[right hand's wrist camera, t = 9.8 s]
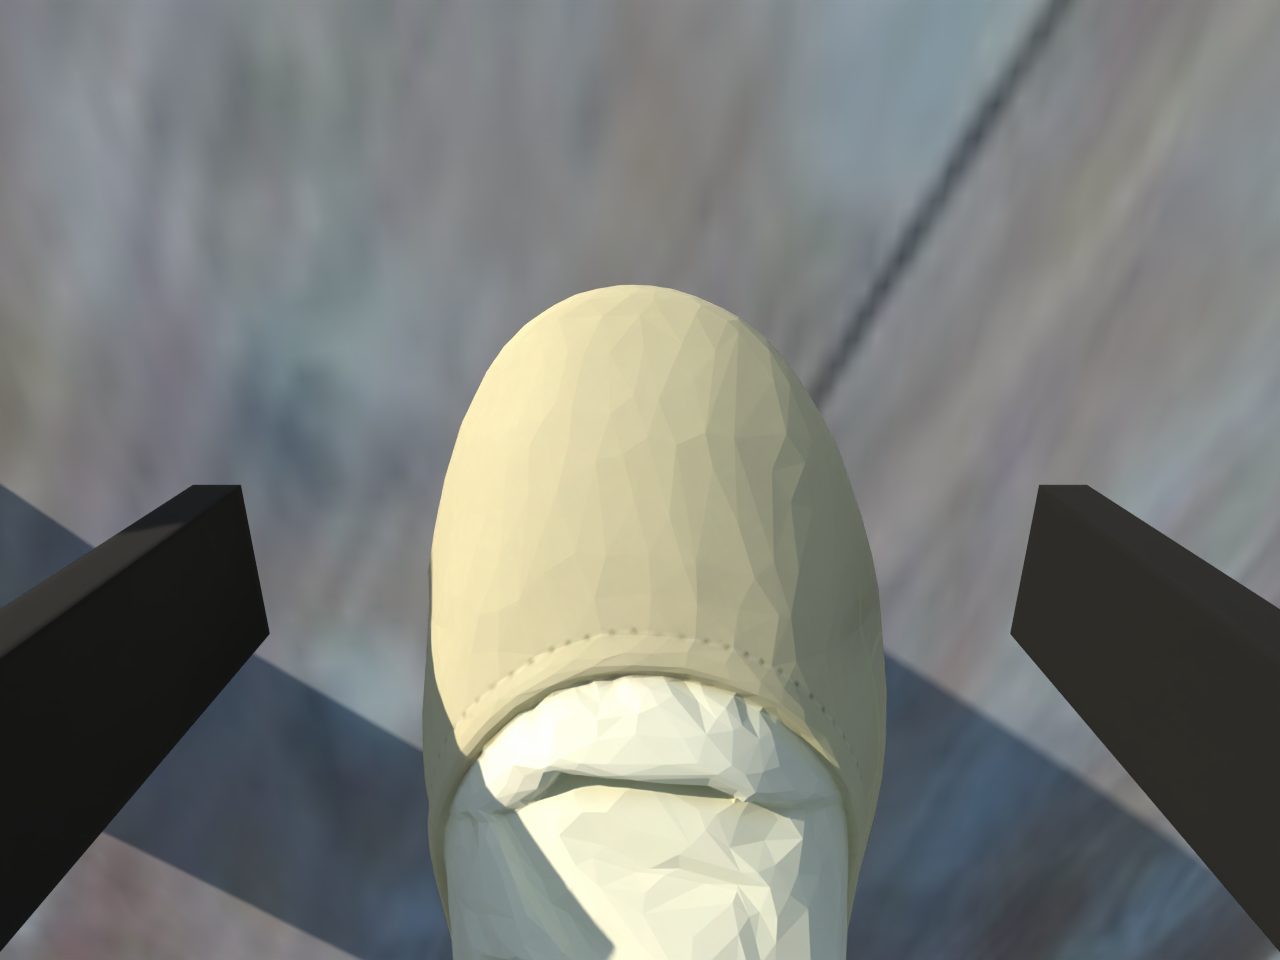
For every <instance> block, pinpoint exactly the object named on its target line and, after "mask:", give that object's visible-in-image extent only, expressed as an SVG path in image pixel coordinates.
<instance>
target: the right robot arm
mask: <svg viewBox="0 0 1280 960" xmlns="http://www.w3.org/2000/svg"><path fill="white" fill-rule="evenodd" d="M269 634H270V633H269V628H268V622H267V617H266V612H265V607H264V602H263V597H262V592H261V586H260V581H259V576H258V571H257V566H256V561H255V556H254V550H253V545H252V540H251V535H250V530H249V525H248V520H247V514H246V509H245V504H244V499H243V494H242V489H241V485H192V486H191V487H189V488H188V489H186V490H184V491H183V492H181V493H180V494H178V495H177V496H175V497H174V498H172V499H171V500H169V501H167V502H166V503H164V504H163V505H161V506H160V507H158V508H157V509H155V510H153V511H152V512H150V513H149V514H147V515H146V516H144V517H143V518H141V519H139V520H138V521H136V522H135V523H133V524H132V525H130V526H129V527H127V528H126V529H124V530H122V531H121V532H119V533H118V534H116V535H115V536H113V537H112V538H110V539H108V540H107V541H105V542H104V543H102V544H101V545H99V546H98V547H96V548H95V549H93V550H91V551H90V552H88V553H87V554H85V555H84V556H82V557H81V558H79V559H77V560H76V561H74V562H73V563H71V564H70V565H68V566H67V567H65V568H63V569H62V570H60V571H59V572H57V573H56V574H54V575H53V576H51V577H50V578H48V579H46V580H45V581H43V582H42V583H40V584H39V585H37V586H36V587H34V588H32V589H31V590H29V591H28V592H26V593H25V594H23V595H22V596H20V597H18V598H17V599H15V600H14V601H12V602H11V603H9V604H8V605H6V606H5V607H3V608H1V609H0V951H1V950H2V949H3V948H4V947H5V946H6V944H7V943H8V942H9V941H10V940H11V938H12V937H13V936H14V935H15V934H16V933H17V931H18V930H19V929H20V928H21V927H22V925H23V924H24V923H25V922H26V921H27V920H28V918H29V917H30V916H31V915H32V914H33V913H34V911H35V910H36V909H37V908H38V907H39V905H40V904H41V903H42V902H43V901H44V900H45V898H46V897H47V896H48V895H49V894H50V892H51V891H52V890H53V889H54V888H55V887H56V885H57V884H58V883H59V882H60V881H61V879H62V878H63V877H64V876H65V875H66V874H67V872H68V871H69V870H70V869H71V868H72V866H73V865H74V864H75V863H76V862H77V861H78V859H79V858H80V857H81V856H82V855H83V854H84V852H85V851H86V850H87V849H88V848H89V846H90V845H91V844H92V843H93V842H94V841H95V839H96V838H97V837H98V836H99V835H100V833H101V832H102V831H103V830H104V829H105V828H106V826H107V825H108V824H109V823H110V822H111V820H112V819H113V818H114V817H115V816H116V815H117V813H118V812H119V811H120V810H121V809H122V807H123V806H124V805H125V804H126V803H127V802H128V800H129V799H130V798H131V797H132V796H133V795H134V793H135V792H136V791H137V790H138V789H139V787H140V786H141V785H142V784H143V783H144V782H145V780H146V779H147V778H148V777H149V776H150V774H151V773H152V772H153V771H154V770H155V769H156V767H157V766H158V765H159V764H160V763H161V761H162V760H163V759H164V758H165V757H166V756H167V754H168V753H169V752H170V751H171V750H172V748H173V747H174V746H175V745H176V744H177V743H178V741H179V740H180V739H181V738H182V737H183V736H184V734H185V733H186V732H187V731H188V730H189V728H190V727H191V726H192V725H193V724H194V723H195V721H196V720H197V719H198V718H199V717H200V715H201V714H202V713H203V712H204V711H205V710H206V708H207V707H208V706H209V705H210V704H211V702H212V701H213V700H214V699H215V698H216V697H217V695H218V694H219V693H220V692H221V691H222V690H223V688H224V687H225V686H226V685H227V684H228V682H229V681H230V680H231V679H232V678H233V677H234V675H235V674H236V673H237V672H238V671H239V669H240V668H241V667H242V666H243V665H244V664H245V662H246V661H247V660H248V659H249V658H250V656H251V655H252V654H253V653H254V652H255V651H256V649H257V648H258V647H259V646H260V645H261V643H262V642H263V641H264V640H265V639H266V638H267V636H268V635H269ZM1010 634H1011V635H1012V636H1013V638H1014V639H1015V640H1016V641H1017V642H1018V643H1019V645H1020V646H1021V647H1022V648H1023V649H1024V651H1025V652H1026V653H1027V654H1028V655H1029V656H1030V658H1031V659H1032V660H1033V661H1034V662H1035V664H1036V665H1037V666H1038V667H1039V668H1040V669H1041V671H1042V672H1043V673H1044V674H1045V675H1046V677H1047V678H1048V679H1049V680H1050V681H1051V682H1052V684H1053V685H1054V686H1055V687H1056V688H1057V689H1058V691H1059V692H1060V693H1061V694H1062V695H1063V697H1064V698H1065V699H1066V700H1067V701H1068V702H1069V704H1070V705H1071V706H1072V707H1073V708H1074V710H1075V711H1076V712H1077V713H1078V714H1079V715H1080V717H1081V718H1082V719H1083V720H1084V721H1085V723H1086V724H1087V725H1088V726H1089V727H1090V728H1091V730H1092V731H1093V732H1094V733H1095V734H1096V735H1097V737H1098V738H1099V739H1100V740H1101V741H1102V743H1103V744H1104V745H1105V746H1106V747H1107V748H1108V750H1109V751H1110V752H1111V753H1112V754H1113V756H1114V757H1115V758H1116V759H1117V760H1118V761H1119V763H1120V764H1121V765H1122V766H1123V767H1124V769H1125V770H1126V771H1127V772H1128V773H1129V774H1130V776H1131V777H1132V778H1133V779H1134V780H1135V782H1136V783H1137V784H1138V785H1139V786H1140V787H1141V789H1142V790H1143V791H1144V792H1145V793H1146V794H1147V796H1148V797H1149V798H1150V799H1151V800H1152V802H1153V803H1154V804H1155V805H1156V806H1157V807H1158V809H1159V810H1160V811H1161V812H1162V813H1163V815H1164V816H1165V817H1166V818H1167V819H1168V820H1169V822H1170V823H1171V824H1172V825H1173V826H1174V828H1175V829H1176V830H1177V831H1178V832H1179V833H1180V835H1181V836H1182V837H1183V838H1184V839H1185V841H1186V842H1187V843H1188V844H1189V845H1190V846H1191V848H1192V849H1193V850H1194V851H1195V852H1196V853H1197V855H1198V856H1199V857H1200V858H1201V859H1202V861H1203V862H1204V863H1205V864H1206V865H1207V866H1208V868H1209V869H1210V870H1211V871H1212V872H1213V874H1214V875H1215V876H1216V877H1217V878H1218V879H1219V881H1220V882H1221V883H1222V884H1223V885H1224V887H1225V888H1226V889H1227V890H1228V891H1229V892H1230V894H1231V895H1232V896H1233V897H1234V898H1235V899H1236V901H1237V902H1238V903H1239V904H1240V905H1241V907H1242V908H1243V909H1244V910H1245V911H1246V912H1247V914H1248V915H1249V916H1250V917H1251V918H1252V920H1253V921H1254V922H1255V923H1256V924H1257V925H1258V927H1259V928H1260V929H1261V930H1262V931H1263V933H1264V934H1265V935H1266V936H1267V937H1268V938H1269V940H1270V941H1271V942H1272V943H1273V944H1274V946H1275V947H1276V948H1277V949H1278V950H1279V951H1280V609H1279V608H1277V607H1275V606H1274V605H1272V604H1271V603H1269V602H1268V601H1266V600H1265V599H1263V598H1262V597H1260V596H1258V595H1257V594H1255V593H1254V592H1252V591H1251V590H1249V589H1248V588H1246V587H1244V586H1243V585H1241V584H1240V583H1238V582H1237V581H1235V580H1234V579H1232V578H1231V577H1229V576H1227V575H1226V574H1224V573H1223V572H1221V571H1220V570H1218V569H1217V568H1215V567H1213V566H1212V565H1210V564H1209V563H1207V562H1206V561H1204V560H1203V559H1201V558H1199V557H1198V556H1196V555H1195V554H1193V553H1192V552H1190V551H1189V550H1187V549H1186V548H1184V547H1182V546H1181V545H1179V544H1178V543H1176V542H1175V541H1173V540H1172V539H1170V538H1168V537H1167V536H1165V535H1164V534H1162V533H1161V532H1159V531H1158V530H1156V529H1154V528H1153V527H1151V526H1150V525H1148V524H1147V523H1145V522H1144V521H1142V520H1141V519H1139V518H1137V517H1136V516H1134V515H1133V514H1131V513H1130V512H1128V511H1127V510H1125V509H1123V508H1122V507H1120V506H1119V505H1117V504H1116V503H1114V502H1113V501H1111V500H1109V499H1108V498H1106V497H1105V496H1103V495H1102V494H1100V493H1099V492H1097V491H1096V490H1094V489H1092V488H1091V487H1089V486H1088V485H1039V489H1038V494H1037V499H1036V504H1035V509H1034V514H1033V520H1032V525H1031V530H1030V535H1029V540H1028V545H1027V550H1026V556H1025V561H1024V566H1023V571H1022V576H1021V581H1020V587H1019V592H1018V597H1017V602H1016V607H1015V612H1014V617H1013V623H1012V628H1011V633H1010Z"/></svg>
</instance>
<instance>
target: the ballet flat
mask: <svg viewBox="0 0 1280 960" xmlns="http://www.w3.org/2000/svg"><path fill="white" fill-rule="evenodd" d="M429 600H430V603H429V622H428V640H427V655H426V669H425V684H424V698H423V762H424V774H425V785H426V790H427V795H428V801H429V814H428V823H427V825H428V839H429V850H430V856H431V861H432V866H433V871H434V876H435V881H436V884H437V888H438V892H439V896H440V899H441V903H442V907H443V910H444V914H445V918H446V922H447V925H448V929H449V933H450V938H451V942H452V952H453V960H846V948H847V932H848V927H849V922H850V917H851V912H852V907H853V902H854V898H855V893H856V888H857V883H858V878H859V872H860V868H861V865H862V861H863V858H864V854H865V850H866V847H867V843H868V839H869V835H870V832H871V828H872V824H873V820H874V817H875V812H876V807H877V802H878V797H879V792H880V787H881V782H882V776H883V766H884V757H885V747H886V705H887V688H886V674H885V660H884V648H883V637H882V626H881V614H880V601H879V589H878V584H877V579H876V574H875V569H874V564H873V559H872V554H871V550H870V546H869V543H868V539H867V535H866V531H865V528H864V524H863V520H862V517H861V514H860V511H859V508H858V505H857V502H856V499H855V496H854V493H853V490H852V487H851V484H850V481H849V478H848V475H847V472H846V469H845V466H844V463H843V460H842V457H841V454H840V452H839V450H838V447H837V445H836V443H835V441H834V439H833V436H832V434H831V433H830V431H829V429H828V427H827V425H826V423H825V421H824V419H823V417H822V416H821V414H820V412H819V411H818V409H817V407H816V406H815V404H814V402H813V401H812V399H811V397H810V396H809V394H808V392H807V391H806V389H805V387H804V386H803V384H802V383H801V381H800V380H799V378H798V377H797V375H796V374H795V373H794V371H793V370H792V368H791V367H790V365H789V364H788V362H787V361H786V360H785V359H784V357H783V356H782V355H781V354H780V353H779V352H778V350H777V349H776V348H775V347H774V346H773V345H772V344H771V342H770V341H769V340H767V339H766V338H765V337H764V336H763V335H761V334H760V333H759V332H758V331H756V330H755V329H754V328H753V327H752V326H750V325H749V324H748V323H746V322H745V321H743V320H742V319H741V318H739V317H737V316H736V315H734V314H732V313H730V312H729V311H727V310H725V309H723V308H721V307H718V306H716V305H714V304H712V303H709V302H707V301H705V300H703V299H700V298H698V297H696V296H693V295H690V294H686V293H683V292H680V291H677V290H674V289H669V288H662V287H656V286H646V285H619V286H612V287H606V288H600V289H595V290H591V291H588V292H584V293H580V294H576V295H574V296H572V297H570V298H568V299H566V300H564V301H562V302H560V303H557V304H555V305H554V306H552V307H551V308H549V309H548V310H546V311H545V312H543V313H542V314H540V315H539V316H537V317H536V318H534V319H533V320H531V321H530V322H529V323H527V324H526V325H525V326H524V327H523V328H522V329H521V330H520V331H519V332H518V333H517V334H516V335H515V336H514V337H513V338H512V339H511V340H510V341H509V342H508V343H507V344H506V345H505V346H504V348H503V349H502V350H501V352H500V353H499V355H498V356H497V358H496V359H495V361H494V362H493V363H492V365H491V366H490V368H489V369H488V371H487V372H486V374H485V376H484V378H483V380H482V382H481V385H480V387H479V389H478V391H477V393H476V395H475V397H474V399H473V401H472V403H471V405H470V407H469V409H468V412H467V414H466V416H465V418H464V420H463V422H462V425H461V428H460V430H459V434H458V437H457V440H456V444H455V447H454V450H453V454H452V457H451V460H450V464H449V467H448V470H447V474H446V477H445V481H444V486H443V491H442V496H441V500H440V505H439V510H438V515H437V520H436V525H435V531H434V537H433V544H432V551H431V557H430V564H429Z"/></svg>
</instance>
